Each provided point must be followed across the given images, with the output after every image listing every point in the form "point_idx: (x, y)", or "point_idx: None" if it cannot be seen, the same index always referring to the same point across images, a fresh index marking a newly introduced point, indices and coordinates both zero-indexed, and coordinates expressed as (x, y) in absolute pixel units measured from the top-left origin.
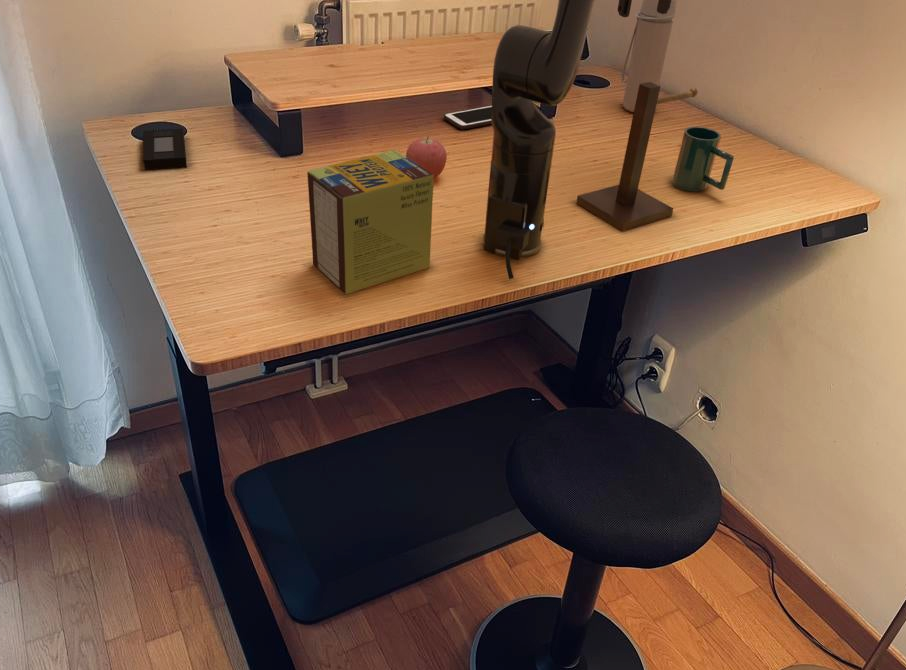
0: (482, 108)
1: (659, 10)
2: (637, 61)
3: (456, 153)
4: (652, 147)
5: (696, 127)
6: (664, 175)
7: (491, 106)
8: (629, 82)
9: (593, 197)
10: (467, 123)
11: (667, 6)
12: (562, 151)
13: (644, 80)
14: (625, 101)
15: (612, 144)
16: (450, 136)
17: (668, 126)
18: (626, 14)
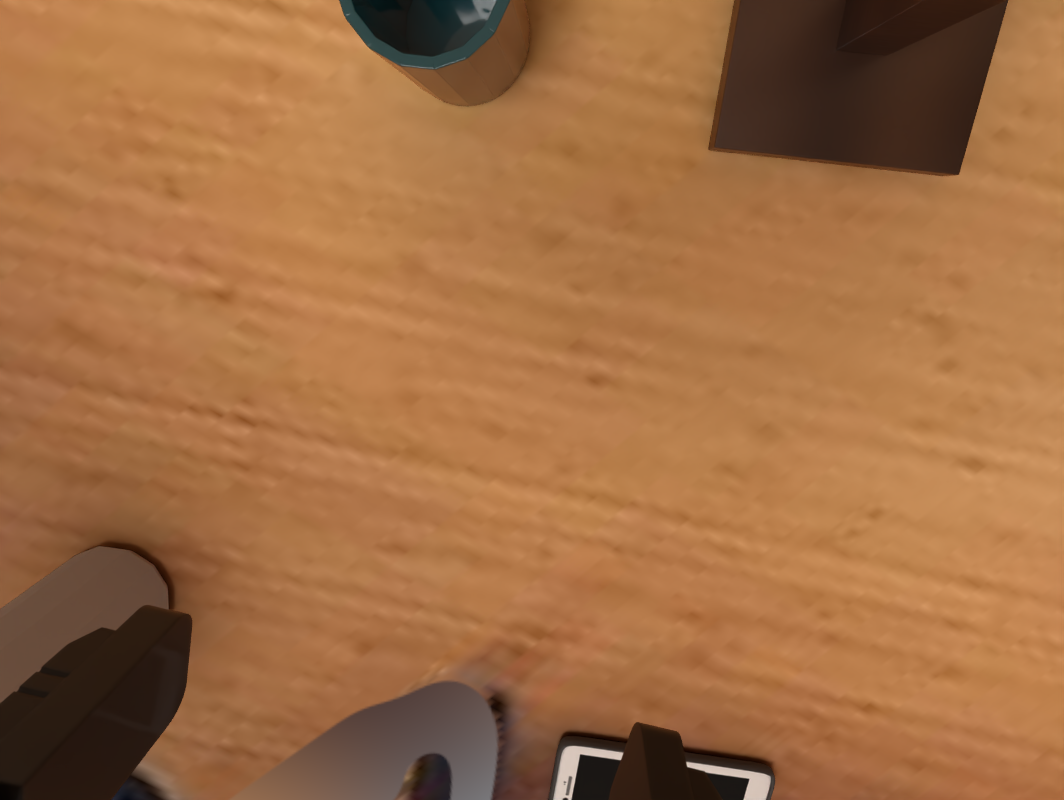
0: None
1: (173, 685)
2: None
3: (920, 660)
4: (325, 344)
5: (384, 46)
6: (480, 150)
7: None
8: None
9: (928, 127)
10: (745, 778)
11: (117, 647)
12: (627, 493)
13: (73, 633)
14: None
15: (432, 439)
16: (830, 752)
17: (130, 434)
18: (680, 742)
